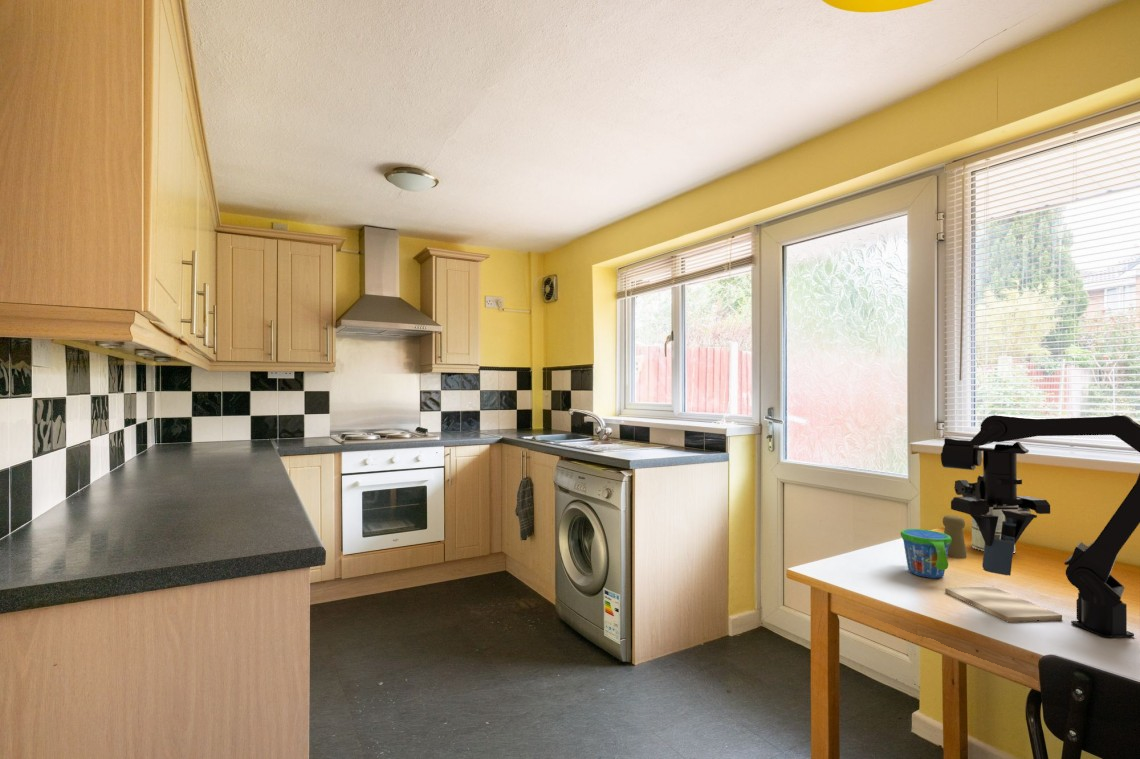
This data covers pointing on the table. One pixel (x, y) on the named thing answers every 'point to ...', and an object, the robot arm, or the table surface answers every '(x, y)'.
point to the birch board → (1003, 604)
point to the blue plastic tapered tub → (926, 552)
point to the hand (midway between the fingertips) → (1000, 545)
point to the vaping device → (1000, 550)
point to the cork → (955, 536)
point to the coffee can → (977, 536)
